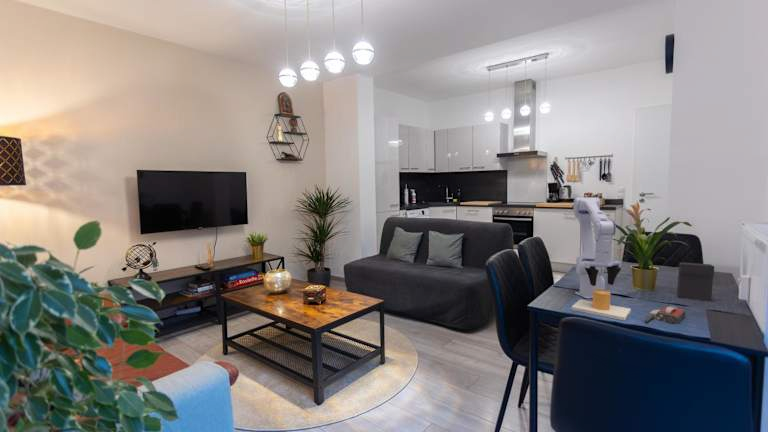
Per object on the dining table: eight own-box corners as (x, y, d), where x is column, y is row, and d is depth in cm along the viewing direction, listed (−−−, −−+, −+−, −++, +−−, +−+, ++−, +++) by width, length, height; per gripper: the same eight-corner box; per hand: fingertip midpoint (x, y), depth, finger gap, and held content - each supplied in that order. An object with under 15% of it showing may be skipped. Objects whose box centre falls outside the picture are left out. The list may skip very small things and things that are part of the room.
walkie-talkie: (658, 310, 148) (641, 323, 136) (659, 299, 148) (642, 311, 135) (687, 316, 142) (671, 331, 129) (687, 305, 141) (672, 318, 128)
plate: (571, 309, 149) (571, 298, 149) (580, 302, 158) (580, 291, 158) (624, 320, 137) (625, 308, 137) (630, 311, 146) (631, 300, 146)
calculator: (708, 298, 161) (710, 264, 160) (711, 301, 157) (714, 266, 156) (676, 295, 166) (678, 261, 164) (679, 298, 162) (681, 263, 160)
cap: (602, 305, 151) (603, 289, 150) (612, 309, 145) (613, 293, 145) (589, 305, 150) (590, 289, 149) (599, 310, 144) (600, 294, 144)
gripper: (593, 253, 144) (591, 288, 146) (627, 252, 146) (625, 286, 148) (581, 250, 151) (579, 283, 153) (614, 249, 153) (612, 281, 155)
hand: (601, 284), depth 151 cm, fingers open, 7 cm apart
